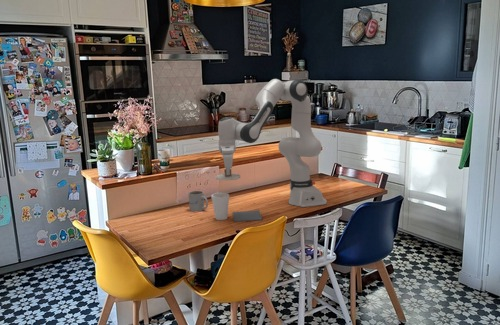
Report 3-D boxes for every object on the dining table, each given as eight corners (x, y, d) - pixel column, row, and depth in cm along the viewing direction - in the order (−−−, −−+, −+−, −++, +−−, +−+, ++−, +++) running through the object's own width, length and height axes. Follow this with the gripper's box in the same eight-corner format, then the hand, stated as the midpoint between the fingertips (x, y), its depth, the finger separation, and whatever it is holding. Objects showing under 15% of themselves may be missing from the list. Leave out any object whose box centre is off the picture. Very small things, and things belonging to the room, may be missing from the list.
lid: (239, 174, 235) (239, 166, 234) (241, 179, 222) (241, 171, 221) (215, 175, 233) (215, 167, 233) (216, 180, 221) (215, 172, 220)
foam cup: (227, 221, 226) (226, 197, 224) (210, 220, 228) (209, 197, 226) (231, 215, 236) (230, 192, 233) (215, 215, 237) (214, 192, 235)
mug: (186, 209, 249) (185, 193, 247) (198, 206, 255) (197, 190, 253) (200, 213, 241) (199, 196, 239) (211, 210, 247) (210, 193, 245)
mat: (259, 211, 241) (259, 210, 241) (262, 220, 226) (262, 218, 226) (232, 213, 240) (232, 212, 240) (234, 221, 225) (234, 220, 225)
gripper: (220, 145, 235) (221, 170, 237) (221, 151, 215) (222, 178, 217) (232, 145, 236) (232, 170, 238) (234, 150, 215) (235, 177, 218)
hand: (227, 173), depth 227 cm, fingers closed on lid, 4 cm apart
